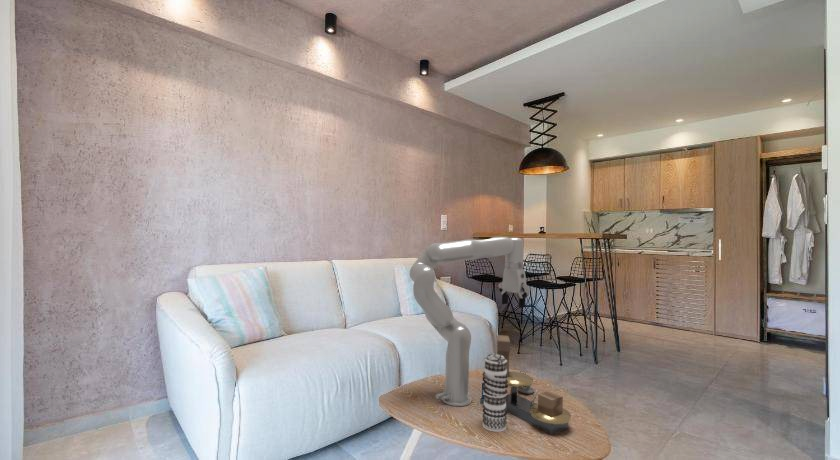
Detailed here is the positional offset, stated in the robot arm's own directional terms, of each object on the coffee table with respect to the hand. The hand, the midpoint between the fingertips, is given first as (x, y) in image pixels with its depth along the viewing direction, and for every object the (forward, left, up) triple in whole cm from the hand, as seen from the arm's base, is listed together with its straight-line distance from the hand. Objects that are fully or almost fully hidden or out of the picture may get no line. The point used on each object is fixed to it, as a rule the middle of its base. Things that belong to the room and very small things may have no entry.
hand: (513, 305), depth 165 cm
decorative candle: (-26, -16, -38) cm, 49 cm away
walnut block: (-9, -27, -33) cm, 44 cm away
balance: (-9, -18, -38) cm, 43 cm away
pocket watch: (+7, -1, -38) cm, 39 cm away
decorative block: (+9, +14, -38) cm, 42 cm away
